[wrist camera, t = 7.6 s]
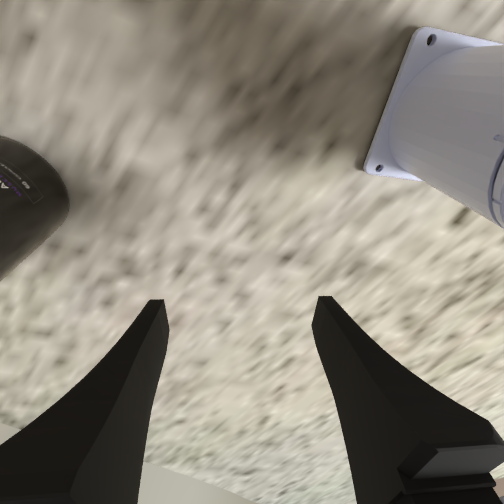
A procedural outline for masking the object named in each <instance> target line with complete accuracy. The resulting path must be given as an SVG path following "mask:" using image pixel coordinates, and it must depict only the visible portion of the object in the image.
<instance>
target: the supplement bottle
mask: <svg viewBox="0 0 504 504" xmlns="http://www.w3.org/2000/svg"><path fill="white" fill-rule="evenodd" d="M68 210H69V198H68V193H67V190H66V187H65V185H64V183H63V181H62V179H61V178H60V176H59V175H58V173H57V172H56V171H55V169H54V168H53V167H52V166H51V165H50V164H49V163H48V162H47V161H46V160H45V159H44V158H42V157H41V156H40V155H39V154H37V153H36V152H35V151H33V150H31V149H30V148H28V147H26V146H24V145H22V144H20V143H18V142H15V141H13V140H10V139H7V138H3V137H0V281H1V280H3V279H4V278H5V277H6V276H7V275H8V274H9V273H10V272H11V271H12V270H13V269H15V268H16V267H17V266H18V265H19V264H20V263H21V262H22V261H23V260H24V259H26V258H27V257H28V256H29V255H30V254H31V253H32V252H33V251H34V250H35V249H36V248H38V247H39V246H40V245H41V244H42V243H43V242H44V241H45V240H46V239H47V238H49V237H50V236H51V235H52V234H53V233H54V232H55V231H56V230H57V229H58V228H59V227H60V226H61V225H62V224H63V222H64V221H65V219H66V217H67V214H68Z"/></svg>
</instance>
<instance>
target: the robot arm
mask: <svg viewBox="0 0 504 504" xmlns="http://www.w3.org/2000/svg"><path fill="white" fill-rule="evenodd" d="M430 35H431V36H432V42H431V43H430V45H427V39H428V37H429V36H430ZM378 165H381V166H380V168H379V169H378V170H376V167H377V166H378ZM363 169H364V171H365V172H366V173H367V174H371V175H379V176H386V177H394V178H401V179H409V180H416V181H424V182H426V183H427V184H429V185H431V186H432V187H434V188H436V189H438V190H439V191H441V192H443V193H444V194H446V195H448V196H449V197H451V198H453V199H455V200H456V201H458V202H460V203H461V204H463V205H465V206H466V207H468V208H470V209H472V210H473V211H475V212H477V213H478V214H480V215H482V216H483V217H485V218H487V219H488V220H490V221H492V222H494V223H495V224H497V225H499V226H500V227H502V228H504V44H503V43H498V42H494V41H489V40H485V39H480V38H476V37H472V36H467V35H463V34H458V33H454V32H449V31H445V30H441V29H436V28H432V27H421V28H419V29H417V30H416V31H415V32H414V33H413V35H412V37H411V40H410V42H409V45H408V48H407V50H406V53H405V56H404V58H403V61H402V64H401V66H400V69H399V72H398V74H397V77H396V80H395V83H394V85H393V88H392V91H391V93H390V96H389V99H388V101H387V104H386V107H385V109H384V112H383V115H382V117H381V120H380V123H379V125H378V128H377V131H376V133H375V136H374V139H373V141H372V144H371V147H370V149H369V152H368V155H367V157H366V160H365V163H364V166H363ZM312 330H313V335H314V340H315V344H316V347H317V350H318V353H319V356H320V359H321V362H322V365H323V368H324V370H325V373H326V376H327V379H328V382H329V384H330V387H331V390H332V393H333V396H334V400H335V403H336V407H337V411H338V415H339V419H340V423H341V428H342V432H343V436H344V441H345V445H346V450H347V454H348V459H349V464H350V469H351V474H352V479H353V484H354V490H355V495H356V501H357V504H504V496H503V497H500V498H499V497H498V495H497V494H496V492H495V491H494V489H493V487H495V486H496V482H495V481H494V479H493V478H492V476H491V474H490V473H489V472H490V471H491V470H493V469H494V468H496V467H497V466H499V465H500V464H501V463H503V462H504V441H503V439H502V438H501V437H500V435H499V434H498V433H497V431H496V430H495V429H494V427H493V426H492V425H491V423H490V422H489V421H488V420H486V419H485V418H483V417H481V416H479V415H478V414H476V413H474V412H472V411H471V410H469V409H467V408H465V407H464V406H462V405H460V404H458V403H457V402H455V401H453V400H452V399H450V398H449V397H447V396H446V395H444V394H442V393H441V392H439V391H438V390H436V389H435V388H433V387H432V386H430V385H429V384H427V383H426V382H424V381H423V380H422V379H420V378H419V377H418V376H416V375H415V374H413V373H412V372H411V371H409V370H408V369H407V368H405V367H404V366H403V365H401V364H400V363H399V362H398V361H397V360H395V359H394V358H393V357H392V356H390V355H389V354H388V353H387V352H386V351H385V350H383V349H382V348H381V347H380V346H379V345H378V344H377V343H376V342H375V341H374V340H373V339H371V338H370V337H369V336H368V335H367V334H366V333H365V332H364V331H363V330H362V329H361V328H360V327H359V326H358V324H357V323H356V322H355V321H354V320H353V319H352V318H351V317H350V316H349V315H348V314H347V313H346V312H345V311H344V309H343V308H342V307H341V306H340V305H339V304H338V303H337V302H336V301H335V300H334V299H333V297H332V296H319V297H318V301H317V305H316V309H315V313H314V317H313V321H312ZM168 337H169V324H168V319H167V314H166V308H165V303H164V299H162V300H149V301H148V302H147V304H146V305H145V307H144V308H143V309H142V311H141V312H140V314H139V315H138V316H137V318H136V319H135V320H134V322H133V323H132V324H131V326H130V327H129V328H128V329H127V331H126V332H125V333H124V334H123V336H122V337H121V338H120V339H119V341H118V342H117V343H116V344H115V345H114V346H113V347H112V349H111V350H110V351H109V352H108V353H107V354H106V355H105V357H104V358H103V359H102V360H101V361H100V362H99V363H98V364H97V365H96V366H95V367H94V368H93V369H92V370H91V371H90V372H89V373H88V374H87V375H86V376H85V377H84V378H83V379H82V380H81V381H80V382H79V383H78V384H76V385H75V386H74V387H73V388H72V389H71V390H70V391H69V392H68V393H67V394H65V395H64V396H63V397H62V398H61V399H60V400H58V401H57V402H56V403H55V404H54V405H52V406H51V407H50V408H49V409H47V410H46V411H45V412H44V413H42V414H41V415H40V416H39V417H38V418H36V419H35V420H34V421H33V422H31V423H30V424H29V425H27V426H26V427H25V428H23V429H22V430H21V431H19V432H18V433H17V434H15V435H14V436H12V437H11V438H9V439H8V440H7V441H5V442H4V443H3V444H1V445H0V504H137V502H138V494H139V487H140V479H141V472H142V465H143V458H144V452H145V445H146V439H147V433H148V427H149V421H150V415H151V409H152V405H153V400H154V397H155V393H156V389H157V385H158V382H159V378H160V374H161V370H162V367H163V363H164V359H165V355H166V351H167V344H168Z"/></svg>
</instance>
